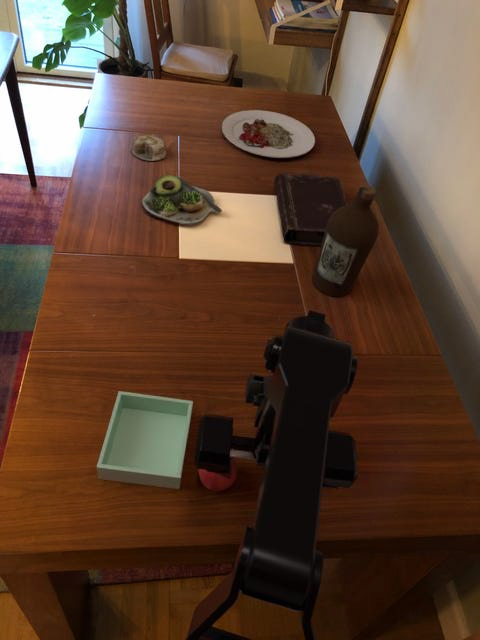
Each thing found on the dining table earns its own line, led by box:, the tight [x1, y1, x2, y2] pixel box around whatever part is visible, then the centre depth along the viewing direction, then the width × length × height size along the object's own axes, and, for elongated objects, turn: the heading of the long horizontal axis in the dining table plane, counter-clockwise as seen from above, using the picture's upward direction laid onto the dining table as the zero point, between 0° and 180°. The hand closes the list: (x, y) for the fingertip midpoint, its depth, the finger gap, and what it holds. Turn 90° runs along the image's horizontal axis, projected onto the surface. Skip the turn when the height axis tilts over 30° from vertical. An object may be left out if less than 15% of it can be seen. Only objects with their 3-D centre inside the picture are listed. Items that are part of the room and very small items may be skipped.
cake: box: [131, 134, 167, 162], centre depth 135 cm, size 10×10×5 cm
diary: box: [273, 172, 348, 247], centre depth 124 cm, size 19×25×5 cm
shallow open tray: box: [96, 390, 194, 490], centre depth 75 cm, size 13×12×5 cm
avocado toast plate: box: [140, 174, 223, 226], centre depth 120 cm, size 19×18×5 cm
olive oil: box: [311, 184, 380, 298], centre depth 100 cm, size 11×11×25 cm
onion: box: [198, 458, 238, 492], centre depth 72 cm, size 6×6×8 cm
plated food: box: [221, 109, 316, 159], centre depth 151 cm, size 30×30×3 cm
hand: (263, 479), depth 62 cm, fingers open, 9 cm apart
